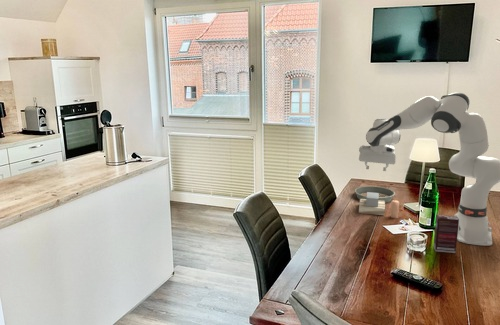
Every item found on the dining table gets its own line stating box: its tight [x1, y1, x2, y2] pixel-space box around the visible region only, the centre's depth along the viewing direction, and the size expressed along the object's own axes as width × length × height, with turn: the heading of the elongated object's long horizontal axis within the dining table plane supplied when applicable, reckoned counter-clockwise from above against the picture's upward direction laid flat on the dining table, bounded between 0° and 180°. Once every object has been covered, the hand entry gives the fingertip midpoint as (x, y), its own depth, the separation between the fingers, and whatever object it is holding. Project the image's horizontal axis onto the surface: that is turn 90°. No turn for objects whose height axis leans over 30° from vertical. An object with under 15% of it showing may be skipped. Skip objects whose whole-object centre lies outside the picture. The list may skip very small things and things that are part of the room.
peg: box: [389, 199, 400, 219], centre depth 215 cm, size 4×4×9 cm
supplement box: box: [432, 214, 459, 254], centre depth 174 cm, size 9×5×16 cm, turn 74°
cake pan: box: [354, 185, 396, 204], centre depth 249 cm, size 25×25×4 cm
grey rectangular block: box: [366, 192, 379, 207], centre depth 226 cm, size 11×6×5 cm, turn 162°
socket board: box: [358, 199, 386, 216], centre depth 227 cm, size 14×14×4 cm
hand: (375, 169), depth 226 cm, fingers open, 8 cm apart
